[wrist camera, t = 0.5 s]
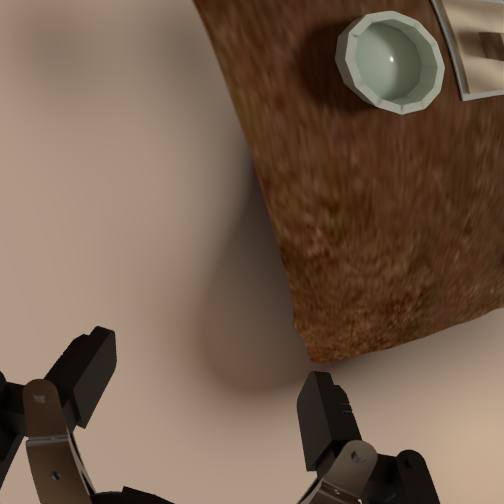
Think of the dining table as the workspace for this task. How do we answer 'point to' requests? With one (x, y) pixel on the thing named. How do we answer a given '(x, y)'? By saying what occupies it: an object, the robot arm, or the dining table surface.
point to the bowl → (390, 62)
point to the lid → (478, 42)
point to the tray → (455, 55)
